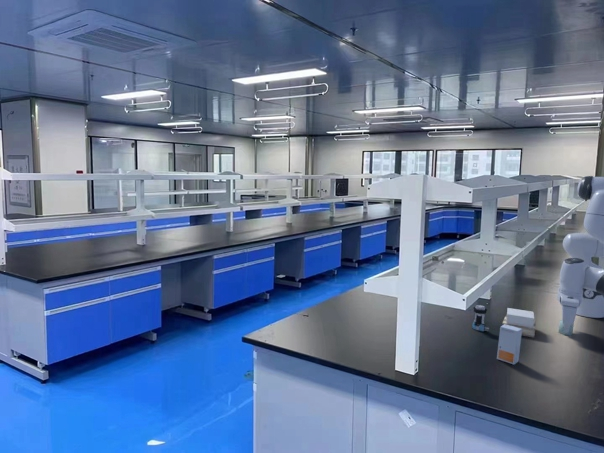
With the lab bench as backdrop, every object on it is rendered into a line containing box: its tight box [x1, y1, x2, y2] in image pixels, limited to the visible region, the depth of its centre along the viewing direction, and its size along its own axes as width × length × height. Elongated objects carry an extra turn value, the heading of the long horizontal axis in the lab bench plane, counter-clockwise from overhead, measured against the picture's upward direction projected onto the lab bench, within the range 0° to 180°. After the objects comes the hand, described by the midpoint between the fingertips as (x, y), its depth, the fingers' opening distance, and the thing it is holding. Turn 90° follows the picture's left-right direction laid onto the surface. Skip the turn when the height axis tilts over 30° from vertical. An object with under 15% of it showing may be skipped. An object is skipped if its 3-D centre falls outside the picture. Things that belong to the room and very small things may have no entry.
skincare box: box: [496, 324, 523, 366], centre depth 153 cm, size 6×4×12 cm
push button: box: [471, 304, 490, 332], centre depth 184 cm, size 7×5×10 cm
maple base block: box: [501, 315, 537, 339], centre depth 186 cm, size 12×12×4 cm
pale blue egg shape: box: [558, 319, 575, 336], centre depth 184 cm, size 5×5×5 cm
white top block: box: [506, 307, 535, 328], centre depth 185 cm, size 10×10×4 cm
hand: (565, 329), depth 184 cm, fingers closed on pale blue egg shape, 5 cm apart
